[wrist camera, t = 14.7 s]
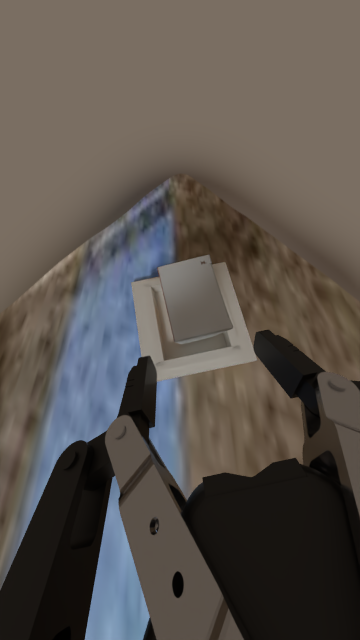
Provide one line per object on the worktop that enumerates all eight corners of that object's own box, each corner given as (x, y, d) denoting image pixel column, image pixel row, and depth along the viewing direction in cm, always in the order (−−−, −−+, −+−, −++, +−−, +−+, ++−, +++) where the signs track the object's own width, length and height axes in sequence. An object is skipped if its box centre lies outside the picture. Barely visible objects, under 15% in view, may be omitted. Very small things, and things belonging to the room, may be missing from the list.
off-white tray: (147, 382, 22) (139, 388, 18) (133, 285, 26) (125, 275, 22) (253, 359, 22) (266, 362, 18) (223, 265, 25) (229, 252, 22)
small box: (169, 301, 24) (155, 264, 13) (200, 293, 23) (209, 251, 13) (180, 345, 22) (172, 343, 12) (212, 337, 22) (235, 328, 11)
